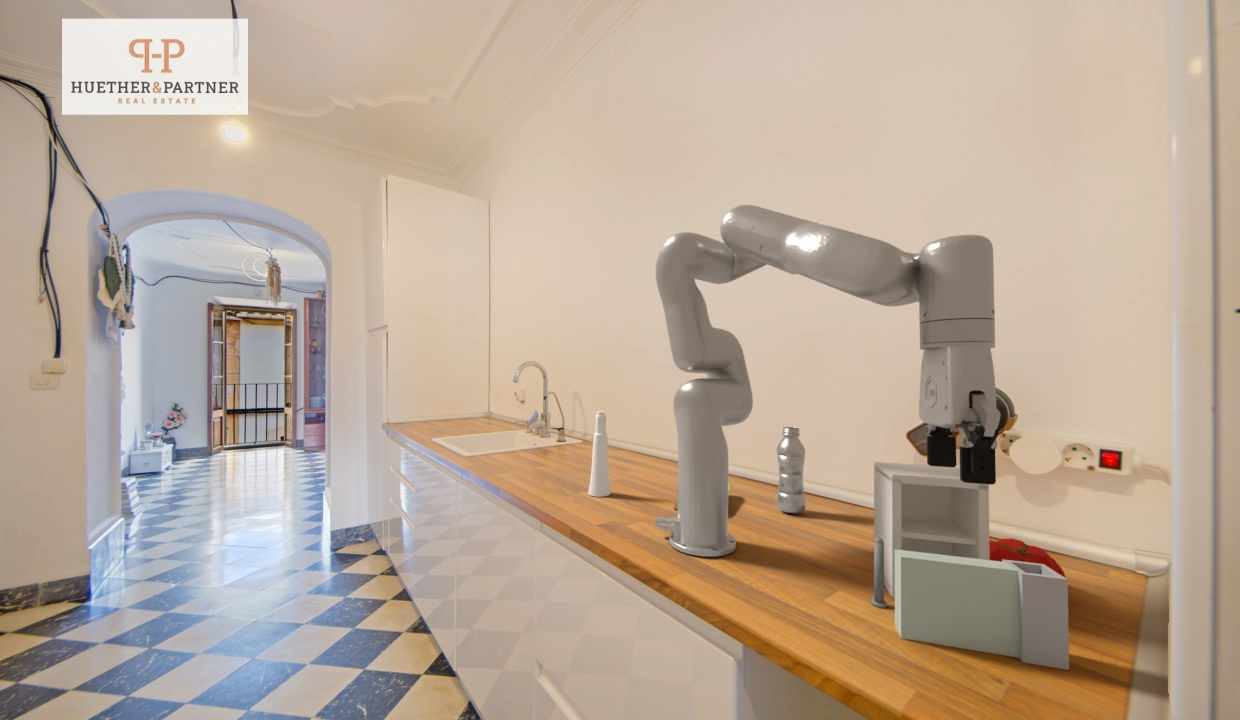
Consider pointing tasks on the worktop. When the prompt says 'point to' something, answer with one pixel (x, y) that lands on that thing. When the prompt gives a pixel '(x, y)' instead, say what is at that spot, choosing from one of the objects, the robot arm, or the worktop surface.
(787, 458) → the plastic bottle
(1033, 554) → the tomato
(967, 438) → the robot arm
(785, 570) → the worktop surface
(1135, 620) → the worktop surface
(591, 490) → the cosmetic bottle
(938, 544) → the cabinet
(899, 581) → the storage box
